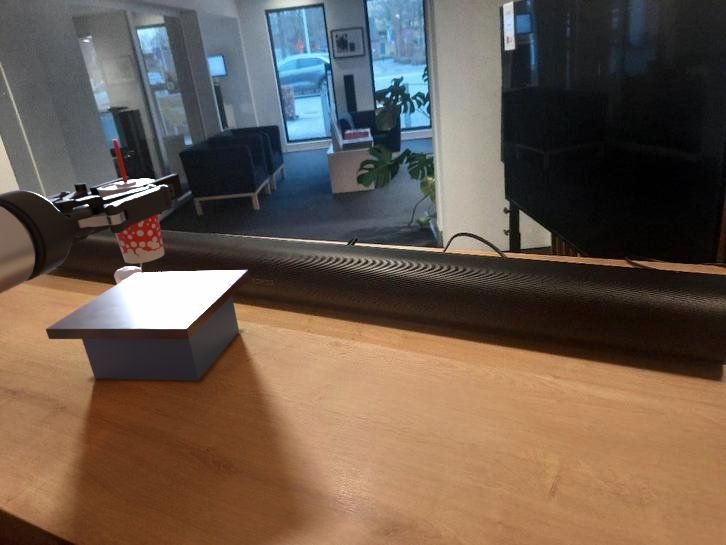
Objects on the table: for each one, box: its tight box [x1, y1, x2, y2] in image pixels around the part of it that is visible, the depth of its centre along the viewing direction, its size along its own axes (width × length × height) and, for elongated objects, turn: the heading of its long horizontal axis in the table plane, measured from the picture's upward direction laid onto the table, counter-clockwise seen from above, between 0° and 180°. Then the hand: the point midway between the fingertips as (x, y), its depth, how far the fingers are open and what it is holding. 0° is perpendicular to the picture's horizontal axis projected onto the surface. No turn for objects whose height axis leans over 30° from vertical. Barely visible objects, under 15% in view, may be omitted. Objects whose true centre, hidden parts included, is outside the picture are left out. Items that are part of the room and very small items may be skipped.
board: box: [45, 269, 250, 340], centre depth 72 cm, size 20×20×2 cm
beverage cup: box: [97, 139, 165, 264], centre depth 58 cm, size 6×6×14 cm
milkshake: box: [113, 263, 143, 285], centre depth 88 cm, size 5×5×10 cm
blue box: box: [81, 295, 240, 381], centre depth 73 cm, size 16×14×8 cm
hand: (153, 186), depth 62 cm, fingers closed on beverage cup, 6 cm apart
